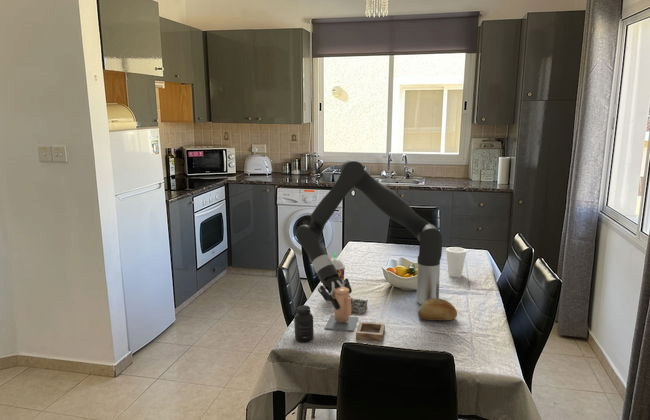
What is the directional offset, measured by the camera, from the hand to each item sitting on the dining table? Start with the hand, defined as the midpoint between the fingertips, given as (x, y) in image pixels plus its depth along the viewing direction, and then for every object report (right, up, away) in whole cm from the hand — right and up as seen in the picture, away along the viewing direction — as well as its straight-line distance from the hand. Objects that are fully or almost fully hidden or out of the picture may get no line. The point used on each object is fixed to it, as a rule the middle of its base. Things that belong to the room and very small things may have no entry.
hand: (344, 306), depth 181 cm
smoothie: (-3, -2, +31) cm, 31 cm away
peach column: (-1, -5, +3) cm, 6 cm away
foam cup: (+57, +4, +55) cm, 80 cm away
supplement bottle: (-15, -10, -9) cm, 20 cm away
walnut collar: (+9, -9, -6) cm, 14 cm away
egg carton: (+5, -5, +17) cm, 18 cm away
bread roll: (+37, -6, +6) cm, 38 cm away
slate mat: (-1, -7, +3) cm, 8 cm away
